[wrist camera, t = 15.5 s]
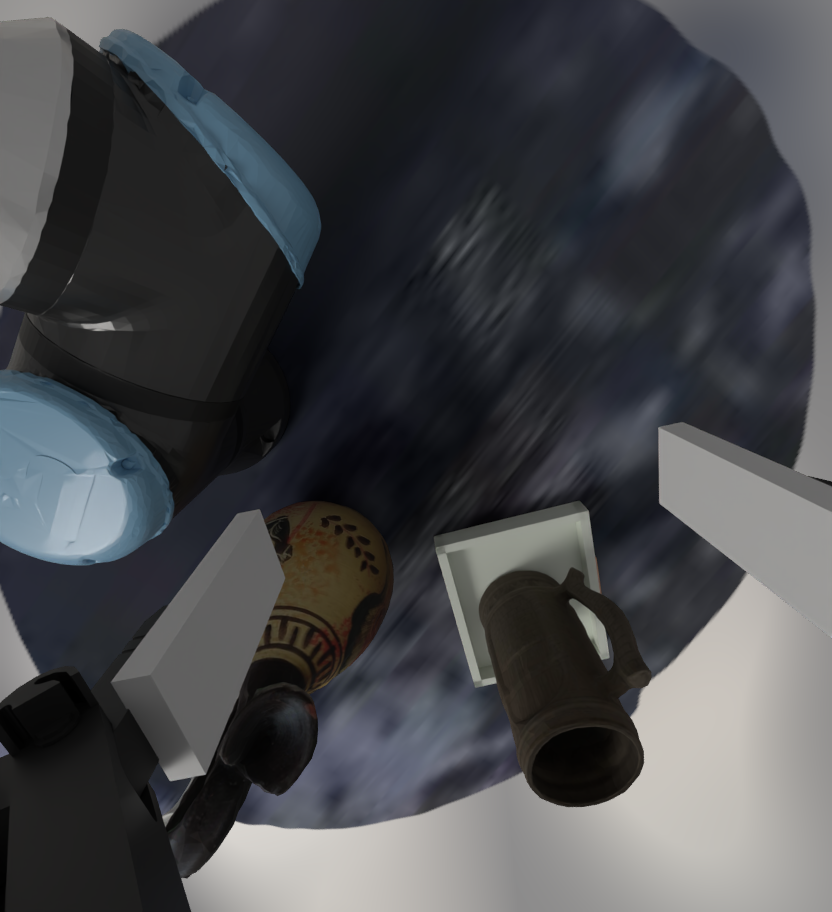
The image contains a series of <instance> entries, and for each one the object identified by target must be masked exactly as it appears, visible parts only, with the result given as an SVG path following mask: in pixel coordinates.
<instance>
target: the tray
mask: <svg viewBox="0 0 832 912" xmlns="http://www.w3.org/2000/svg"><path fill="white" fill-rule="evenodd" d="M434 543H435V549H436V553H437V556H438V560H439V563H440V567H441V570H442V573H443V577H444V580H445V584H446V587H447V591H448V594H449V598H450V601H451V605H452V608H453V612H454V615H455V619H456V622H457V626H458V629H459V633H460V636H461V640H462V643H463V647H464V650H465V654H466V657H467V661H468V664H469V668H470V671H471V675H472V678H473V682H474V685H475V688H476V687H480V686H485V685H489V684H494V683H497V682H496V678H495V674H494V670H493V666H492V662H491V658H490V655H489V653H488V647H487V644H486V639H485V630H484V628H483V626H482V624H481V621H480V617H479V603H480V600H481V597H482V595H483V593H484V592H485V590H486V589H487V588H488V586H489V585H490V584H491V583H492V582H493V581H495V580H496V579H498V578H499V577H501V576H504V575H506V574H508V573H511V572H515V571H538V572H541V573H544V574H547V575H548V576H550V577H552V578H553V579H555V580H556V581H557V582H558V583H559V584H562V582H563V581H564V580H565V578H566V576H567V574H568V571H569V569H570V568H571V567H573V568H575V569H577V570H579V571H581V572H582V573H583V574H584V576H585V577H584V585H585V586H586V587H588V588H589V589H591V590H594V591H596V592H598V593H600V594H602V593H601V586H600V579H599V572H598V565H597V558H596V556H595V553H594V546H593V539H592V532H591V525H590V518H589V511H588V510H587V508H586V507H585V506H584V505H583V504H582V503H581V502H580V501H576V502H572V503H567V504H563V505H559V506H555V507H551V508H547V509H543V510H539V511H535V512H531V513H527V514H523V515H518V516H514V517H510V518H506V519H502V520H498V521H494V522H490V523H486V524H482V525H478V526H474V527H470V528H465V529H461V530H457V531H453V532H449V533H445V534H441V535H437V536H434ZM569 603H570V605H571V606H572V607H573V608H574V609H575V611H576V613H577V615H578V617H579V619H580V620H581V622H582V623H583V625H584V627H585V629H586V632H587V634H588V636H589V638H590V640H591V642H592V644H593V645H594V647H595V649H596V651H597V652H598V654H599V656H600V658H601V660H603V659H607V658H609V652H608V645H607V638H606V631H605V627H604V625H603V624H602V623H601V621H600V620H599V619H598V618H597V617H596V615H595V614H594V613H593V612H592V611H590V610H589V609H588V608H587V607H585V606H584V605H583V604H581V603H580V602H578V601H577V600H575V599H571V600H569Z"/></svg>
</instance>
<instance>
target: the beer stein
mask: <svg viewBox="0 0 832 912" xmlns="http://www.w3.org/2000/svg"><path fill="white" fill-rule="evenodd" d="M584 577H585V576H584V574H583V573H582V572H581V571H579V570H577V569H575V568H573V567H571V568H570V569H569V571H568V574H567V576H566V578H565V580H564V581H563V582H562V584H559V583H558V582H557V581H556V580H555V579H553V578H552V577H550V576H548V575H547V574H544V573H541V572H538V571H515V572H511V573H508V574H506V575H504V576H501V577H499V578H498V579H496V580H495V581H493V582H492V583H491V584H490V585H489V586H488V588H487V589H486V590H485V592H484V593H483V595H482V597H481V600H480V603H479V617H480V621H481V624H482V626H483V628H484V630H485V639H486V644H487V647H488V653H489V655H490V658H491V662H492V666H493V670H494V674H495V678H496V682H497V686H498V690H499V693H500V697H501V700H502V704H503V706H504V708H505V710H506V712H507V715H508V717H509V721H510V724H511V729H512V733H513V737H514V741H515V744H516V748H517V758H518V762H519V765H520V767H521V769H522V771H523V773H524V774H525V778H526V780H527V783H528V784H529V786H530V788H531V789H532V790H533V791H534V792H535V793H536V794H537V795H538V796H539V797H540V798H541V799H544V800H546V801H549V802H551V803H554V804H557V805H561V806H565V807H585V806H591V805H597V804H600V803H603V802H606V801H609V800H611V799H613V798H615V797H616V796H618V795H620V794H622V793H624V792H625V791H626V790H627V789H628V788H629V787H630V786H631V785H632V783H633V782H634V781H635V780H636V778H637V777H638V776H639V775H640V772H641V770H642V767H643V764H644V751H643V748H642V745H641V742H640V740H639V736H638V733H637V729H636V728H635V725H634V723H633V721H632V719H631V718H630V717H629V715H628V714H627V713H626V712H625V710H624V709H623V707H622V705H621V703H620V701H619V699H618V698H619V697H620V696H621V695H623V694H624V693H626V692H627V691H628V690H629V689H631V688H643V687H645V686H648V684H649V682H650V680H651V671H650V670H649V668H648V667H647V666H646V664H645V663H644V661H643V659H642V657H641V655H640V653H639V650H638V647H637V643H636V639H635V636H634V634H633V631H632V629H631V626H630V624H629V621H628V620H627V618H626V616H625V615H624V613H623V611H622V610H621V609H620V608H619V607H618V606H617V605H616V604H615V603H614V602H612V601H611V600H610V599H608V598H607V597H605V596H604V595H602V594H600V593H598V592H596V591H594V590H591V589H589V588H588V587H586V586H585V585H584ZM571 599H575V600H577V601H578V602H580V603H581V604H583V605H584V606H585V607H587V608H588V609H589V610H590V611H592V612H593V613H594V614H595V615H596V617H597V618H598V619H599V620H600V621H601V623H602V624H603V625H604V627H605V629H606V631H607V633H608V635H609V636H610V640H611V643H612V647H613V652H614V663H613V666H612V668H611V670H609V671H607V669H606V668H605V666H604V664H603V662H602V660H601V658H600V656H599V654H598V652H597V651H596V649H595V647H594V645H593V644H592V642H591V640H590V638H589V636H588V634H587V632H586V629H585V627H584V625H583V623H582V622H581V620H580V619H579V617H578V615H577V613H576V611H575V609H574V608H573V607H572V606H571V605H570V603H569V600H571Z"/></svg>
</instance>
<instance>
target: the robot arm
mask: <svg viewBox="0 0 832 912" xmlns="http://www.w3.org/2000/svg"><path fill="white" fill-rule="evenodd" d="M99 47H100V48H101V49H100V52H98V51H97V50H96V49H94V48H93V47H91V46H90V45H89V44H87V43H86V42H85V41H83V40H82V39H81V38H79V37H78V36H76V35H75V34H74V33H72V32H71V31H70V30H68V29H67V28H65V27H64V26H63V25H61V24H60V23H58V22H57V21H56V20H54V19H53V18H49V17H46V18H35V19H24V20H13V21H2V22H0V305H1V306H5V307H9V308H12V309H16V310H19V311H23V312H25V315H24V318H23V321H22V324H21V328H20V331H19V334H18V337H17V341H16V344H15V347H14V350H13V354H12V357H11V360H10V363H9V365H8V367H7V368H6V370H0V542H2V543H3V544H5V545H7V546H9V547H11V548H13V549H15V550H17V551H19V552H22V553H24V554H27V555H29V556H32V557H35V558H38V559H42V560H45V561H49V562H54V563H59V564H67V565H91V564H94V563H101V562H110V561H114V560H117V559H119V558H122V557H124V556H126V555H128V554H130V553H131V552H133V551H135V550H136V549H137V548H139V547H140V546H141V545H143V544H144V543H145V542H147V541H148V540H149V539H152V538H154V537H156V536H157V535H160V534H161V533H162V532H163V530H164V529H165V528H166V527H167V526H168V525H169V524H170V522H171V520H172V519H173V518H174V517H175V516H176V515H177V514H178V513H179V512H180V511H181V510H182V509H183V508H185V507H186V506H187V505H188V504H189V503H190V502H191V501H192V500H193V499H194V498H195V497H196V496H197V495H198V494H199V493H200V492H201V491H203V490H204V489H205V488H206V487H207V486H208V485H209V484H210V483H211V482H212V481H213V480H214V479H215V478H216V477H217V476H220V475H226V474H231V473H236V472H239V471H242V470H244V469H247V468H249V467H251V466H253V465H254V464H256V463H258V462H259V461H260V460H262V459H263V458H264V457H265V456H266V455H267V454H268V453H269V452H270V451H271V450H272V449H273V448H274V447H275V446H276V444H277V443H278V442H279V440H280V439H281V437H282V435H283V433H284V431H285V429H286V426H287V423H288V419H289V413H290V396H289V390H288V386H287V382H286V379H285V377H284V374H283V372H282V370H281V368H280V366H279V364H278V363H277V361H276V360H275V358H274V357H273V356H272V354H271V353H270V352H269V351H268V350H267V348H268V346H269V344H270V342H271V340H272V338H273V336H274V334H275V332H276V330H277V328H278V326H279V324H280V321H281V319H282V317H283V315H284V313H285V311H286V309H287V307H288V305H289V303H290V301H291V299H292V297H293V295H294V292H295V290H296V289H301V287H302V285H303V283H304V272H305V270H306V267H307V265H308V263H309V260H310V258H311V256H312V253H313V251H314V249H315V246H316V244H317V242H318V239H319V236H320V231H321V221H320V215H319V211H318V208H317V206H316V203H315V200H314V198H313V197H312V195H311V193H310V192H309V190H308V189H307V188H306V186H305V185H304V183H303V182H302V181H301V179H300V178H299V177H298V176H297V175H296V173H295V172H294V171H293V170H292V169H291V168H290V167H289V165H288V164H287V163H286V162H285V161H284V160H283V159H282V158H281V157H280V156H279V155H278V153H277V152H276V151H275V150H274V149H273V148H272V147H271V146H270V145H269V144H268V143H267V142H266V141H265V140H264V139H263V138H262V137H261V136H260V135H259V134H258V133H257V132H256V131H255V130H254V129H253V128H252V127H251V126H249V125H248V124H247V123H246V122H245V121H244V120H243V119H242V118H241V117H240V116H239V115H238V114H237V113H236V112H235V111H234V110H232V109H231V108H230V107H229V106H228V105H227V104H225V103H224V102H223V101H222V100H221V99H220V98H219V97H217V96H216V95H215V94H214V93H211V92H209V91H207V90H205V89H203V87H202V86H201V84H200V83H199V82H198V81H197V80H196V79H195V78H193V77H192V76H191V75H190V74H189V73H188V72H187V71H186V70H185V69H183V68H182V67H181V66H180V65H179V64H178V63H177V62H176V61H175V60H174V59H172V58H171V57H170V56H168V55H167V54H166V53H164V52H163V51H162V50H160V49H159V48H158V47H156V46H155V45H153V44H152V43H150V42H149V41H147V40H145V39H143V38H142V37H141V36H139V35H137V34H135V33H133V32H131V31H128V30H124V29H123V30H122V29H119V30H114V31H112V32H111V34H110V35H109V36H108V37H104V38H102V39H101V42H100V45H99ZM659 504H661V505H662V506H663V507H664V508H666V509H667V510H668V511H670V512H671V513H672V514H673V515H675V516H676V517H677V518H679V519H680V520H681V521H682V522H684V523H685V524H686V525H688V526H689V527H690V528H691V529H693V530H694V531H695V532H696V533H698V534H699V535H700V536H702V537H703V538H704V539H705V540H707V541H708V542H709V543H711V544H712V545H713V546H714V547H716V548H717V549H718V550H719V551H721V552H722V553H723V554H725V555H726V556H727V557H728V558H730V559H731V560H732V561H734V562H735V563H736V564H737V565H739V566H740V567H741V568H743V569H744V570H745V571H746V572H748V573H749V574H750V575H752V576H753V577H754V578H756V579H757V580H758V581H759V582H761V583H762V584H763V585H764V586H766V587H767V588H768V589H770V590H771V591H772V592H773V593H775V594H776V595H777V596H778V597H780V598H781V599H782V600H784V601H785V602H786V603H787V604H789V605H790V606H791V607H792V608H794V609H795V610H796V611H798V612H799V613H800V614H801V615H803V616H804V617H805V618H807V619H808V620H809V621H810V622H812V623H813V624H814V625H815V626H817V627H818V628H819V629H821V630H822V631H823V632H825V633H826V634H827V635H828V636H829V637H831V638H832V482H831V481H827V480H823V479H819V478H814V477H810V476H806V475H804V474H801V473H799V472H797V471H794V470H792V469H790V468H787V467H785V466H783V465H780V464H778V463H776V462H774V461H771V460H769V459H767V458H764V457H762V456H760V455H757V454H755V453H753V452H750V451H748V450H746V449H743V448H741V447H739V446H737V445H734V444H732V443H730V442H727V441H725V440H723V439H720V438H718V437H716V436H713V435H711V434H709V433H706V432H704V431H702V430H699V429H697V428H695V427H693V426H690V425H688V424H686V423H683V422H681V423H676V424H671V425H667V426H662V427H659ZM284 580H285V576H284V573H283V570H282V568H281V565H280V562H279V560H278V557H277V554H276V551H275V549H274V546H273V543H272V541H271V538H270V535H269V533H268V530H267V527H266V525H265V522H264V519H263V517H262V514H261V511H260V509H258V510H253V511H248V512H243V513H239V514H237V515H236V516H235V517H234V519H233V520H232V521H231V523H230V524H229V525H228V527H227V528H226V529H225V531H224V532H223V533H222V535H221V536H220V537H219V539H218V540H217V541H216V543H215V544H214V545H213V547H212V548H211V549H210V551H209V552H208V553H207V555H206V556H205V557H204V559H203V560H202V561H201V563H200V564H199V565H198V567H197V568H196V569H195V571H194V572H193V573H192V575H191V576H190V577H189V579H188V580H187V581H186V583H185V584H184V585H183V587H182V588H181V589H180V591H179V592H178V593H177V595H176V596H175V597H174V599H173V600H172V601H171V603H170V604H169V605H167V606H163V607H162V608H161V609H159V610H158V611H157V612H156V613H155V614H153V615H152V616H151V617H150V618H149V619H147V620H146V621H145V622H144V623H143V625H142V626H141V627H140V629H139V630H138V631H137V632H136V634H135V635H134V636H133V637H132V638H133V640H131V641H129V643H128V644H127V645H126V646H125V648H124V649H123V650H122V654H119V655H118V657H117V658H116V659H115V660H114V662H113V663H112V664H111V665H110V667H109V668H108V669H107V671H106V672H105V673H104V674H103V676H102V677H101V678H100V679H99V681H98V682H97V683H96V685H95V686H94V687H93V688H92V690H90V689H89V687H88V686H87V684H86V682H85V681H84V679H83V678H82V676H81V674H80V673H79V671H78V670H77V669H76V668H75V667H69V666H64V667H60V668H57V669H53V670H50V671H48V672H46V673H43V674H41V675H39V676H37V677H35V678H33V679H32V680H30V681H29V682H27V683H26V684H24V685H22V686H21V687H19V688H18V689H16V690H15V691H14V692H13V693H11V694H10V695H9V696H8V697H6V698H5V699H4V700H3V701H2V702H1V703H0V742H1V743H2V745H3V746H4V747H5V748H6V750H7V751H8V752H9V754H8V755H6V756H3V757H1V758H0V912H191V910H190V907H189V903H188V900H187V897H186V894H185V890H184V887H183V883H182V880H181V877H180V874H179V870H178V867H177V864H176V860H175V857H174V854H173V851H172V847H171V844H170V841H169V837H168V834H167V831H166V827H165V824H164V821H163V818H162V814H161V811H160V808H159V804H158V801H157V798H156V794H155V792H154V790H153V789H152V787H151V786H150V784H149V782H148V781H149V779H150V777H151V775H152V773H153V771H154V769H155V767H156V765H157V763H158V762H159V764H160V765H161V767H162V769H163V770H164V772H165V773H166V775H167V777H168V778H169V780H170V781H173V780H179V779H184V778H190V777H195V776H201V775H206V773H207V770H208V768H209V766H210V763H211V761H212V758H213V756H214V753H215V751H216V748H217V746H218V743H219V741H220V738H221V736H222V733H223V731H224V729H225V726H226V724H227V721H228V719H229V716H230V714H231V711H232V709H233V706H234V704H235V701H236V699H237V696H238V694H239V691H240V689H241V687H242V684H243V682H244V679H245V677H246V674H247V672H248V669H249V667H250V664H251V662H252V659H253V657H254V654H255V652H256V649H257V647H258V645H259V642H260V640H261V637H262V635H263V632H264V630H265V627H266V625H267V622H268V620H269V617H270V615H271V612H272V610H273V608H274V605H275V603H276V600H277V598H278V595H279V593H280V590H281V588H282V585H283V583H284Z"/></svg>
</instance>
